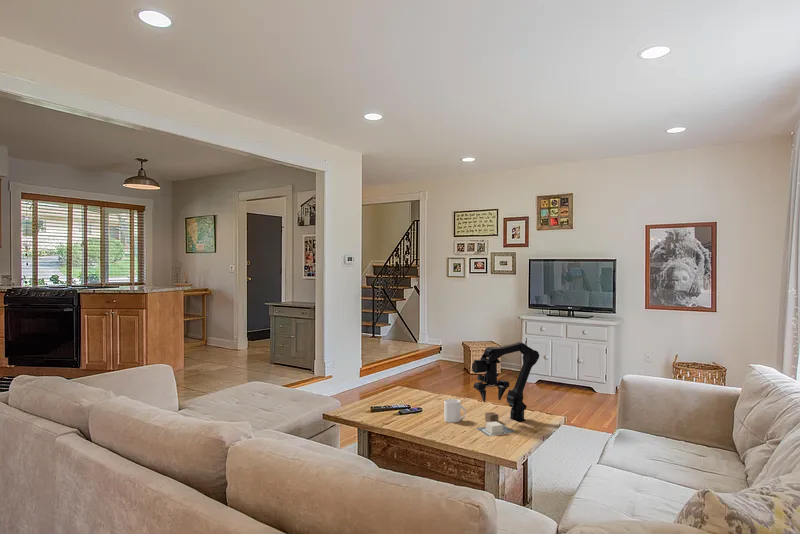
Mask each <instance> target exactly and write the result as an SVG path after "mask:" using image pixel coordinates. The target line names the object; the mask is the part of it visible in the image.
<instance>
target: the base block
mask: <svg viewBox="0 0 800 534" xmlns="http://www.w3.org/2000/svg"><path fill="white" fill-rule="evenodd" d="M503 425H504V424H502V423H500V422H499V421H498V422H497V421H495V422H485V427H486V431H487V432H489V433H490V434H492V435H493V434H500V433H503Z"/></svg>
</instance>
